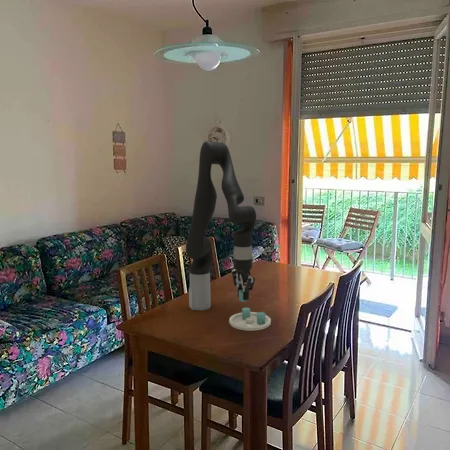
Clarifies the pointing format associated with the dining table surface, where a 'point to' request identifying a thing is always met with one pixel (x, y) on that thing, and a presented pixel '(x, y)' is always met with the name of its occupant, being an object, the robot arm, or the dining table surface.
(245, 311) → the bead
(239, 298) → the bead
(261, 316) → the bead
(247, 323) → the groove dish
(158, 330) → the dining table surface
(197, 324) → the dining table surface
